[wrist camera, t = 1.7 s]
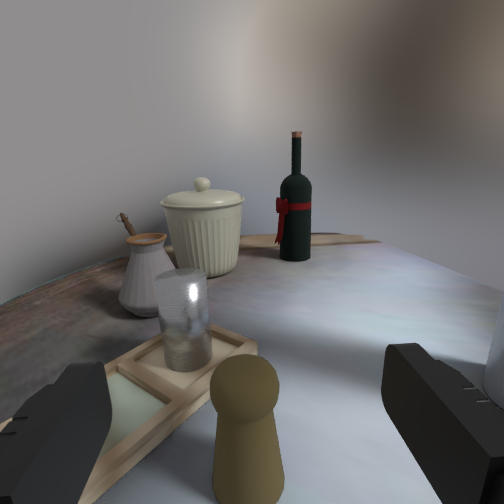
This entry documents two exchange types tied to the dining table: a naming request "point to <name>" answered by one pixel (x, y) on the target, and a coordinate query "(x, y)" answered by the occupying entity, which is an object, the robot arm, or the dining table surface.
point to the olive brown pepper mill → (246, 432)
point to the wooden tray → (152, 403)
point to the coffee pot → (143, 271)
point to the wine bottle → (294, 210)
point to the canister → (204, 227)
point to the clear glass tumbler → (184, 318)
